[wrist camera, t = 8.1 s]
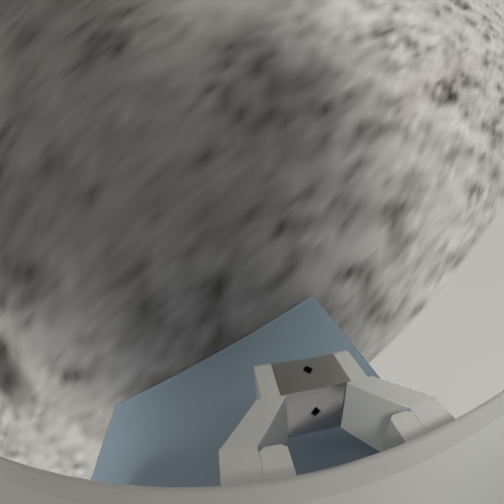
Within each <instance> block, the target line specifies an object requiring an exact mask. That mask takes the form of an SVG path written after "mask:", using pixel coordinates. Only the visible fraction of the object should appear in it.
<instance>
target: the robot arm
mask: <svg viewBox="0 0 504 504" xmlns="http://www.w3.org/2000/svg"><path fill="white" fill-rule="evenodd" d="M254 378H255V388H256V397H257V400H256V401H255V402H254V404H253V405H252V406H251V408H250V409H249V411H248V412H247V413H246V415H245V416H244V418H243V419H242V420H241V422H240V423H239V425H238V426H237V427H236V429H235V430H234V431H233V433H232V434H231V435H230V437H229V438H228V439H227V441H226V442H225V443H224V445H223V446H222V447H221V448H220V450H219V464H220V482H221V486H205V487H155V486H138V485H126V484H117V483H109V482H101V481H94V480H88V479H83V478H77V477H72V476H67V475H63V474H58V473H54V472H50V471H46V470H42V469H38V468H35V467H31V466H28V465H24V464H21V463H18V462H15V461H12V460H9V459H6V458H3V457H1V456H0V504H504V390H503V391H502V392H500V393H499V394H497V395H496V396H494V397H493V398H491V399H489V400H488V401H486V402H485V403H483V404H481V405H480V406H478V407H476V408H475V409H473V410H471V411H469V412H468V413H466V414H464V415H462V416H460V417H458V418H457V419H455V418H454V417H453V416H452V415H451V414H450V413H449V412H448V411H447V410H446V409H445V407H444V406H443V405H442V404H441V403H440V402H439V401H438V400H437V399H436V398H435V397H432V396H429V395H426V394H423V393H420V392H417V391H414V390H411V389H408V388H405V387H402V386H399V385H396V384H393V383H390V382H388V381H384V380H382V379H379V378H376V377H374V376H370V377H367V375H366V374H365V373H364V371H363V370H362V369H361V367H360V366H359V365H358V363H357V362H356V361H355V360H354V358H353V357H352V356H351V354H350V353H349V352H348V351H347V350H342V351H338V352H334V353H331V354H327V355H322V356H318V357H313V358H307V359H300V360H293V361H286V362H279V363H272V364H264V365H257V366H254ZM339 426H341V428H343V429H344V430H346V431H347V432H349V433H350V434H352V435H353V436H355V437H357V438H358V439H360V440H361V441H363V442H365V443H366V444H368V445H370V446H371V447H373V448H375V449H376V450H378V451H380V452H379V453H377V454H374V455H371V456H368V457H365V458H362V459H359V460H355V461H352V462H349V463H345V464H342V465H338V466H335V467H331V468H327V469H323V470H319V471H315V472H310V473H306V474H301V475H296V472H295V469H294V465H293V462H292V459H291V456H290V453H289V449H288V447H287V446H285V444H286V442H287V440H288V438H289V437H294V436H299V435H303V434H307V433H311V432H316V431H321V430H326V429H330V428H335V427H339Z"/></svg>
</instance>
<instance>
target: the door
mask: <svg viewBox="0 0 504 504" xmlns="http://www.w3.org/2000/svg"><path fill="white" fill-rule="evenodd" d="M342 350H347V351H348V352H349V353H350V354H351V356H352V357H353V358H354V360H355V361H356V362H357V363H358V365H359V366H360V367H361V369H362V370H363V371H364V373H365V374H366V375H367V377H370V376H374V377H376V378H379V376H378V375H377V374H376V373H375V371H374V370H373V369H372V368H371V366H370V365H369V364H368V363H367V361H366V360H365V359H364V358H363V356H362V355H361V354H360V353H359V351H358V350H357V349H356V348H355V346H354V345H353V344H352V343H351V341H350V340H349V339H348V338H347V336H346V335H345V334H344V333H343V331H342V330H341V329H340V328H339V326H338V325H337V324H336V323H335V321H334V320H333V319H332V318H331V317H330V315H329V314H328V313H327V312H326V310H325V309H324V308H323V307H322V306H321V304H320V303H319V302H318V301H317V299H316V298H315V297H314V296H313V295H312V296H310V297H309V298H307V299H306V300H304V301H303V302H301V303H299V304H298V305H296V306H295V307H293V308H291V309H290V310H288V311H287V312H285V313H283V314H282V315H280V316H279V317H277V318H275V319H274V320H272V321H270V322H269V323H267V324H265V325H264V326H262V327H260V328H259V329H257V330H255V331H254V332H252V333H250V334H249V335H247V336H245V337H243V338H242V339H240V340H238V341H236V342H235V343H233V344H231V345H230V346H228V347H226V348H224V349H222V350H221V351H219V352H217V353H215V354H214V355H212V356H210V357H208V358H206V359H204V360H203V361H201V362H199V363H197V364H195V365H193V366H192V367H190V368H188V369H186V370H184V371H182V372H180V373H178V374H177V375H175V376H173V377H171V378H169V379H167V380H165V381H163V382H161V383H159V384H157V385H155V386H153V387H151V388H149V389H147V390H145V391H143V392H141V393H139V394H137V395H135V396H133V397H131V398H129V399H127V400H125V401H122V402H120V403H118V404H116V406H115V409H114V412H113V415H112V418H111V421H110V424H109V427H108V429H107V432H106V435H105V439H104V442H103V445H102V448H101V451H100V454H99V457H98V460H97V464H96V467H95V470H94V474H93V477H92V480H94V481H101V482H109V483H117V484H126V485H138V486H155V487H205V486H221V482H220V464H219V450H220V448H221V447H222V446H223V445H224V443H225V442H226V441H227V439H228V438H229V437H230V435H231V434H232V433H233V431H234V430H235V429H236V427H237V426H238V425H239V423H240V422H241V420H242V419H243V418H244V416H245V415H246V413H247V412H248V411H249V409H250V408H251V406H252V405H253V404H254V402H255V401H256V400H257V397H256V388H255V378H254V366H257V365H264V364H272V363H279V362H286V361H293V360H300V359H307V358H313V357H318V356H322V355H327V354H331V353H334V352H338V351H342ZM379 379H380V378H379ZM285 446H287V447H288V449H289V453H290V456H291V459H292V462H293V465H294V469H295V472H296V475H301V474H306V473H310V472H315V471H319V470H323V469H327V468H331V467H335V466H338V465H342V464H345V463H349V462H352V461H355V460H359V459H362V458H365V457H368V456H371V455H374V454H377V453H379V452H380V451H378V450H376V449H375V448H373V447H371V446H370V445H368V444H366V443H365V442H363V441H361V440H360V439H358V438H357V437H355V436H353V435H352V434H350V433H349V432H347V431H346V430H344V429H343V428H341V426H339V427H335V428H330V429H326V430H321V431H316V432H311V433H307V434H303V435H299V436H294V437H289V438H288V440H287V442H286V444H285Z"/></svg>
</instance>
